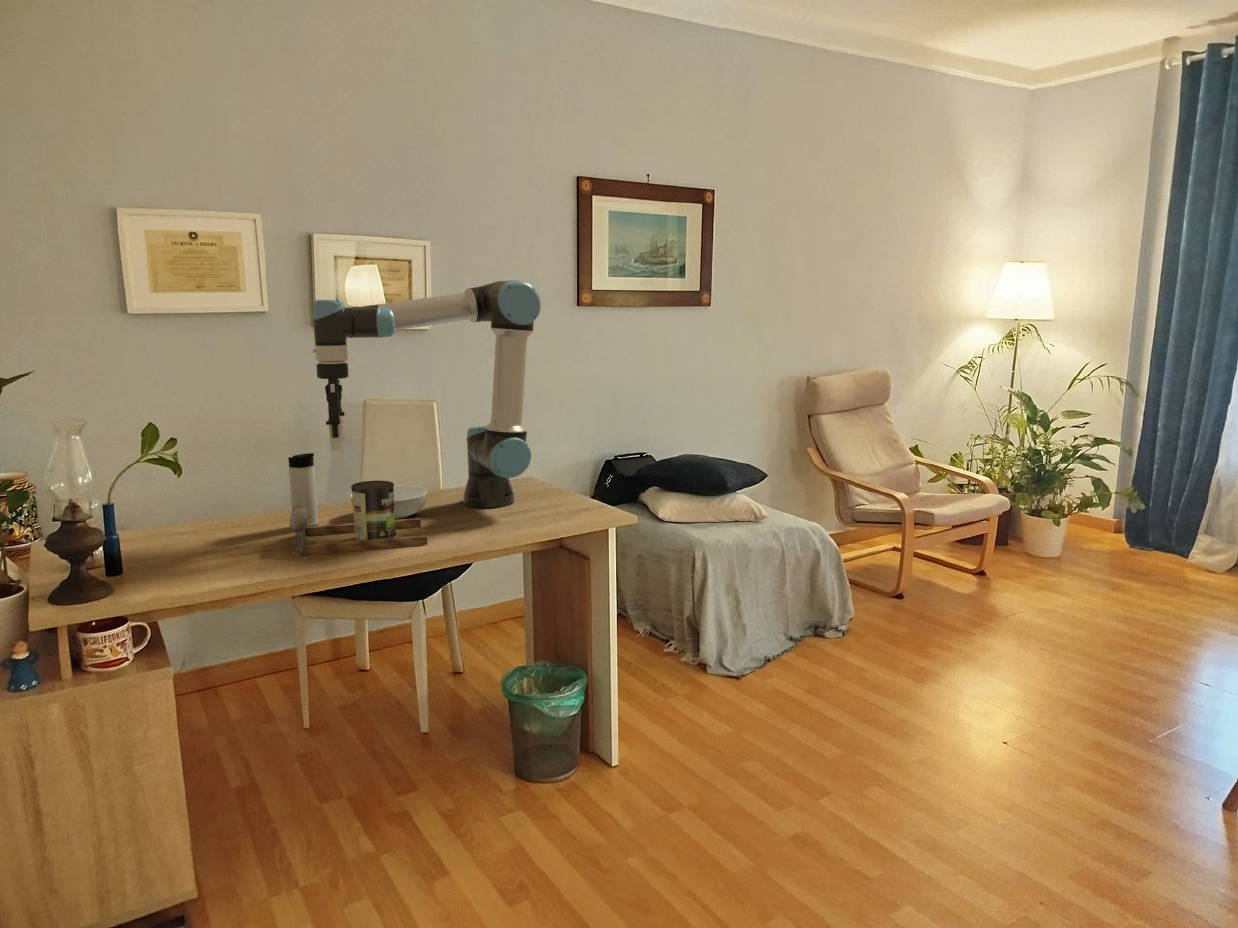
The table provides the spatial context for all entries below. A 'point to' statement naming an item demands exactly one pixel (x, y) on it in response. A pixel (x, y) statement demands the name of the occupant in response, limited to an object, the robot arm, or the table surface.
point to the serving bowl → (407, 500)
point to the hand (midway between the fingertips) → (337, 446)
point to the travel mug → (304, 485)
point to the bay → (300, 522)
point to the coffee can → (373, 510)
